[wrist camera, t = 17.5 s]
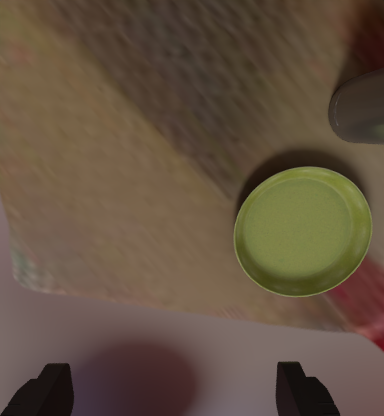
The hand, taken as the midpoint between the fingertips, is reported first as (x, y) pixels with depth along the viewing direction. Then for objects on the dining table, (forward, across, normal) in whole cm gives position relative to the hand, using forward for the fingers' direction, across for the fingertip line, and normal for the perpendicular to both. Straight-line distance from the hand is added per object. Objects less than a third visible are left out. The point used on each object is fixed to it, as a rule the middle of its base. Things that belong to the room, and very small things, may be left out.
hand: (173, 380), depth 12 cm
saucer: (+37, -17, +6) cm, 41 cm away
